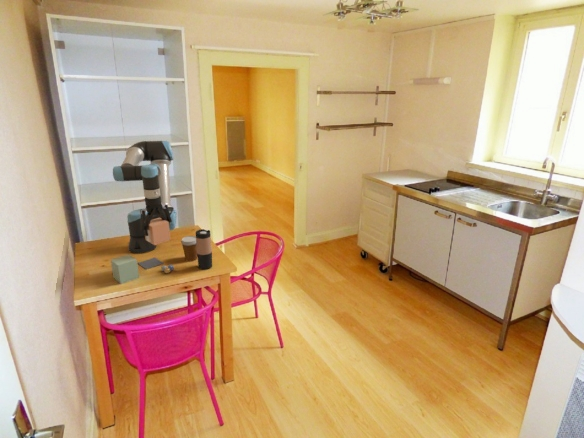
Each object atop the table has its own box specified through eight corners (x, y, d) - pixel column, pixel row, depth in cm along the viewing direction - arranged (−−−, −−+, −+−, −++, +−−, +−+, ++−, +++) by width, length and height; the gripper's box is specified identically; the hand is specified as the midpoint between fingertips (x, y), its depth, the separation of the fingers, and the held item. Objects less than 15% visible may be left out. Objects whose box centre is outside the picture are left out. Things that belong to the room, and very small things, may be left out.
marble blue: (166, 270, 194) (166, 265, 193) (172, 268, 196) (171, 263, 195) (169, 272, 192) (169, 266, 191) (175, 270, 194) (174, 265, 193)
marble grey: (160, 271, 193) (159, 265, 192) (165, 269, 195) (165, 264, 194) (163, 272, 191) (162, 267, 190) (168, 271, 193) (168, 265, 192)
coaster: (137, 263, 201) (137, 262, 201) (155, 258, 208) (155, 257, 207) (145, 269, 194) (145, 268, 194) (163, 263, 201) (163, 262, 201)
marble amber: (163, 273, 191) (162, 267, 190) (168, 271, 193) (168, 265, 192) (166, 274, 189) (165, 269, 188) (171, 273, 191) (171, 267, 190)
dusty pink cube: (145, 240, 191) (143, 222, 188) (161, 235, 197) (159, 217, 194) (154, 245, 185) (152, 226, 182) (170, 240, 192) (168, 222, 188)
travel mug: (200, 271, 193) (197, 235, 186) (196, 265, 199) (193, 230, 193) (214, 268, 196) (212, 232, 190) (210, 262, 203) (208, 228, 196)
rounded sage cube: (113, 277, 185) (110, 259, 182) (131, 271, 191) (128, 254, 188) (120, 284, 179) (118, 265, 176) (139, 277, 185) (136, 259, 182)
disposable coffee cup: (195, 263, 202) (193, 242, 198) (179, 261, 204) (177, 241, 200) (203, 256, 211) (201, 236, 207) (187, 254, 212) (185, 235, 208)
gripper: (134, 203, 173) (141, 246, 181) (176, 193, 188) (180, 234, 196) (127, 199, 178) (133, 242, 186) (168, 190, 193) (172, 230, 201)
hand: (157, 238), depth 191 cm, fingers closed on dusty pink cube, 9 cm apart
